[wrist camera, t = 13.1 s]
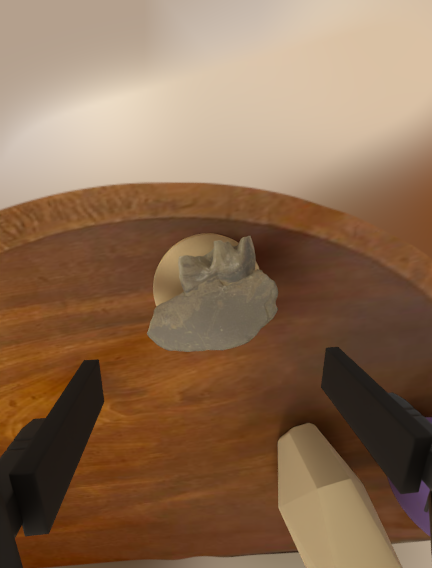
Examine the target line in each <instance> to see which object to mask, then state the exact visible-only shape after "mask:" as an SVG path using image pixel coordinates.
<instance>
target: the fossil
mask: <svg viewBox="0 0 432 568" xmlns="http://www.w3.org/2000/svg"><path fill="white" fill-rule="evenodd" d="M255 264H256V259H255V251H254V246H253V243H252V240H251V236H248V237H243V238H241V240H240V242H239V244H238V245H237V246H232V245H231V243H230V242H228V241H227V242H223V241H221V240H218V241H214V248H213V249H212V251H211V252H209V253H208V254H206V255H204V256H196V257H194V256H188V255H185V256H180V257H179V259H178V266H179V279H180V282H181V285H182V287H183V290H184V292H183V293H181V294H180V295H177V296H175V297H173V298H172V299H170V300H168V301H166V302H164V303H161V304H160V305H158V306H157V307H156V308H155V310H154V315H153V318H152V320H151V322H150V327H149V329H148V332H147V334H148V336H149V338H151V339H152V340H153V341H154V342H155V343H156V344H157V345H159V346H160V347H162V348H164V349H166V350H169V351H173V350H176V351H185V352H191V351H205V350H225V349H230V348H234V347H237V346H240V345H243V344H245V343H247V342H249V341H250V340H251V339H253V337H254V336H256V335H257V333H258V332H259V330H260V329H261V328H262V327H264V326H265V325H266V324H267V323H269V321H270V320H272V319H273V318H274V316H275V314H276V312H277V310H278V308H277V307H276V303H275V302H276V298H277V296H278V289H277V286H276V284H275V282H274V281H273V280H271V279H270V278H269V277H268V276H267V275H266V274H264V273H263V272H262V270H258V269H257V270H255Z"/></svg>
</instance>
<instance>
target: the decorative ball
mask: <svg viewBox="0 0 432 568" xmlns="http://www.w3.org/2000/svg"><path fill="white" fill-rule="evenodd" d="M425 418H426V419H427V420H428V421H430V422H431V423H432V417H425ZM388 481H389V484H390V486H391V489H392V491H393V493H394V495H395V497H396V499H397V501H398V502H399V504H400V505H401V507H402V508H403V509H404V511H405V512H406V513H407V515H408V516H409V517H410V518H411V519H412V520H413V521H414V522H415V523H416V524H417V525H418V526H419V527H420V528H421V529H422V530H423V531H424V532H425V533H427V534H428V535H429V536H430V521H429V509H428V512H425V511H424V508H425V505H426V501H427V498H428V494H429V491H430V489H429V488H428V487H427V486H426V484H425V483H424V482H423V481H421V485H420V489H419V492H417V493H408V494H400V493H399V491H398V490H397V489H396V487H395V486H394V485H393V483H392V482H391V481H390V479H389V478H388Z"/></svg>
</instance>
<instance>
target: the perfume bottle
mask: <svg viewBox="0 0 432 568" xmlns="http://www.w3.org/2000/svg"><path fill="white" fill-rule="evenodd" d="M278 508H279V510H280V512H281V514H282V517H283V519H284V521H285V523H286V525H287V527H288V530H289V532H290V534H291V536H292V538H293V540H294V543H295V545H296V547H297V549H298V551H299V553H300V555H301V557H302V560H303V562H304V564H305V566H306V568H402V566H401V564H400V562H399V560H398V557H397V555H396V553H395V551H394V549H393V547H392V544H391V542H390V540H389V538H388V536H387V534H386V532H385V530H384V527H383V525H382V523H381V521H380V519H379V517H378V515H377V513H376V510H375V508H374V506H373V504H372V502H371V500H370V498H369V495H368V493H367V491H366V489H365V487H364V485H363V483H362V482H361V481H360V480H359V478H358V477H357V476H356V475H355V473H354V472H353V471H352V470H351V469H350V467H349V466H348V465H347V464H346V462H345V461H344V460H343V459H342V458H341V456H340V455H339V454H338V453H337V452H336V450H335V449H334V448H333V447H332V445H331V444H330V443H329V442H328V441H327V439H326V438H325V437H324V436H323V435H322V433H321V432H320V431H319V430H318V428H317V427H316V426H315V425H314V424H311V423H307V424H303V425H300V426H296V427H293V428H292V429H290V430H289V431H288V432H286V433H285V434H284V435H283V436H281V437H280V439H279V440H278Z"/></svg>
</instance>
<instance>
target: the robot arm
mask: <svg viewBox="0 0 432 568" xmlns="http://www.w3.org/2000/svg"><path fill="white" fill-rule="evenodd" d="M321 388H322V389H323V390H324V392H325V393H326V394H327V396H328V397H329V399H330V400H331V401H332V403H333V404H334V405H335V407H336V408H337V409H338V411H339V412H340V413H341V415H342V416H343V417H344V419H345V420H346V421H347V423H348V424H349V425H350V427H351V428H352V430H353V431H354V432H355V434H356V435H357V436H358V438H359V439H360V440H361V442H362V443H363V444H364V446H365V447H366V448H367V450H368V451H369V452H370V454H371V455H372V456H373V458H374V459H375V460H376V462H377V463H378V465H379V466H380V467H381V469H382V470H383V471H384V473H385V474H386V475H387V477H388V478H389V479H390V481H391V482H392V483H393V485H394V486H395V487H396V489H397V490H398V491H399V493H400V494H408V493H417V492H419V489H420V485H421V481H423V482H424V483H425V484H426V486H427V487H428V488H429V489H430V491H429V494H428V498H427V501H426V505H425V508H424V511H425V512H428V509H429V521H430V537H431V551H432V423H431V422H430V421H428V420H427V419H426V418H425V417H424V416H422V415H421V413H419V412H418V411H417V410H416V409H414V407H413V406H411V405H410V404H409V403H408V402H407V401H406V400H405V399H403V398H401V397H400V396H398V395H396V394H394V393H387V392H386V391H385V390H384V389H383V388H382V387H381V386H379V385H378V384H377V383H376V382H375V381H374V380H373V379H372V378H371V377H370V376H369V375H368V374H367V373H366V372H364V371H363V370H362V369H361V368H360V367H359V366H358V365H357V364H356V363H355V362H354V361H353V360H352V359H350V358H349V357H348V356H347V355H346V354H345V353H344V352H343V351H342V350H341V349H340V348H339V347H330V348H326V352H325V360H324V368H323V376H322V384H321ZM103 403H104V397H103V389H102V381H101V374H100V366H99V360H84V361H83V363H82V364H81V366H80V367H79V369H78V370H77V372H76V373H75V375H74V376H73V378H72V379H71V381H70V382H69V384H68V385H67V387H66V388H65V390H64V392H63V393H62V395H61V396H60V398H59V399H58V401H57V402H56V404H55V405H54V407H53V408H52V410H51V411H50V413H49V414H48V416H47V417H46V418H41V419H33V420H32V421H31V422H29V423H28V424H27V425H26V426H25V427H23V428H22V429H21V431H20V432H19V433H18V435H17V436H16V437H15V439H14V441H13V442H12V443H11V444H10V445H9V447H8V448H7V451H5V452H4V454H3V455H2V456H1V458H0V568H23V566H22V563H21V559H20V556H19V552H18V549H17V545H16V542H15V537H16V535H17V533H18V531H19V529H20V527H21V525H22V526H23V530H24V534H25V536H32V535H41V534H49V532H50V530H51V527H52V525H53V522H54V520H55V518H56V515H57V513H58V511H59V508H60V506H61V503H62V501H63V499H64V496H65V494H66V492H67V489H68V487H69V484H70V482H71V480H72V477H73V475H74V472H75V470H76V468H77V465H78V463H79V461H80V458H81V456H82V453H83V451H84V449H85V446H86V444H87V441H88V439H89V437H90V434H91V432H92V430H93V427H94V425H95V422H96V420H97V418H98V415H99V413H100V411H101V408H102V406H103ZM431 553H432V552H431Z"/></svg>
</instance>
